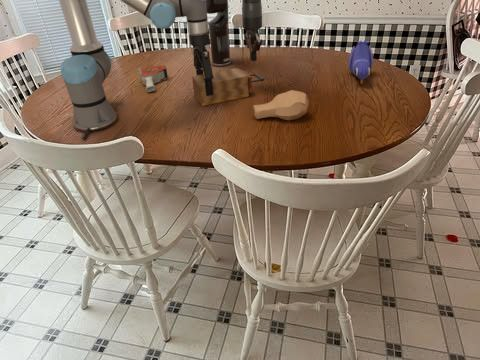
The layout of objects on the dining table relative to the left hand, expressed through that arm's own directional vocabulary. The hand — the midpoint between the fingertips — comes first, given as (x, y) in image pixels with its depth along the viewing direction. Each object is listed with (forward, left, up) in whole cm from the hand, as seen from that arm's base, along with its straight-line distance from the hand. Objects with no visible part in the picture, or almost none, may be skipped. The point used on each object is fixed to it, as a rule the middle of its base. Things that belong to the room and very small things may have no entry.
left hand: (205, 90), depth 143 cm
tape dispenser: (+21, +27, -4) cm, 34 cm away
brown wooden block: (+3, -6, -4) cm, 8 cm away
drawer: (+5, -11, -3) cm, 12 cm away
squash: (-19, -29, -4) cm, 35 cm away
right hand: (+8, -20, +8) cm, 23 cm away
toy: (+15, -66, -4) cm, 68 cm away
